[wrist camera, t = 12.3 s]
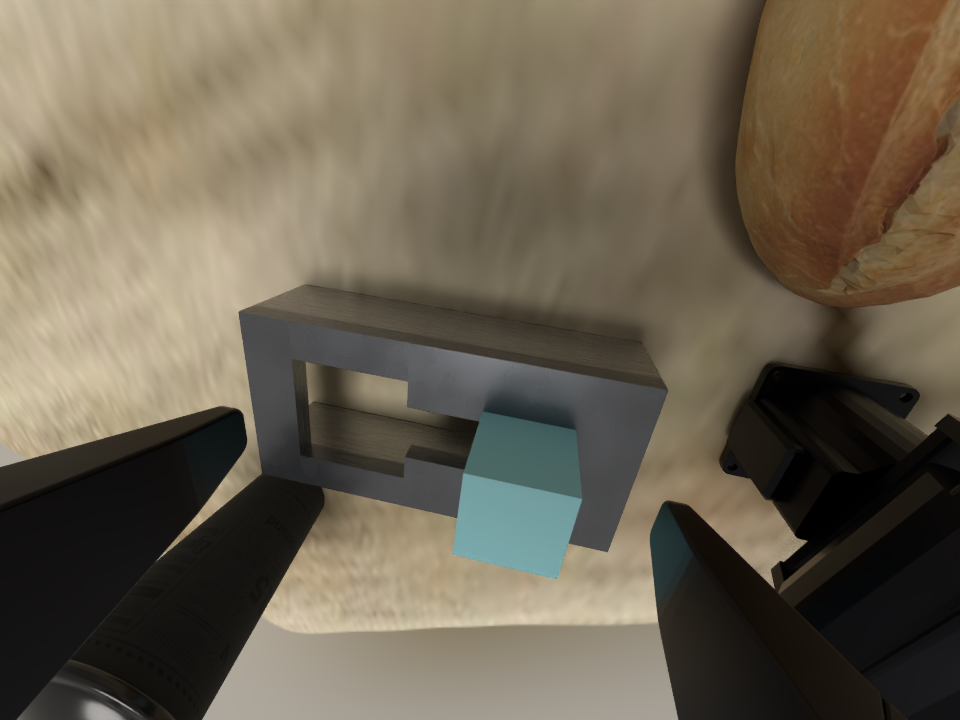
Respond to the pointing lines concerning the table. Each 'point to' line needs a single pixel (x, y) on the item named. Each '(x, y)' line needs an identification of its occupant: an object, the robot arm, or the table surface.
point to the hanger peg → (519, 495)
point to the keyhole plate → (443, 398)
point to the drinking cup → (187, 614)
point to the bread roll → (854, 148)
